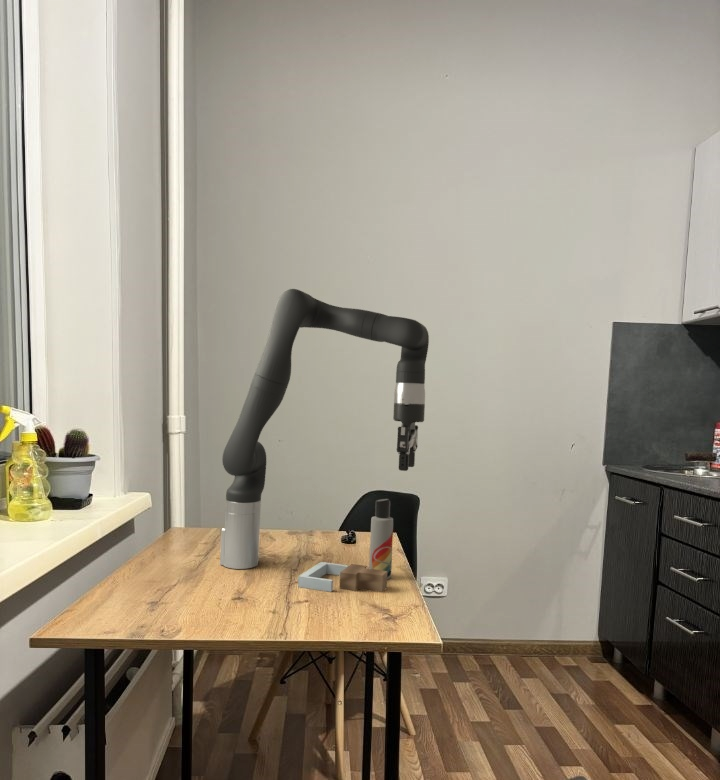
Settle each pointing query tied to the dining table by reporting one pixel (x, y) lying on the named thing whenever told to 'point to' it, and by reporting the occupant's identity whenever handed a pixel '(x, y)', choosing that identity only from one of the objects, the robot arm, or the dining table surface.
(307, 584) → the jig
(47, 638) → the dining table surface
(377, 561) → the lotion bottle
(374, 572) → the t block
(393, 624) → the dining table surface
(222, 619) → the dining table surface
